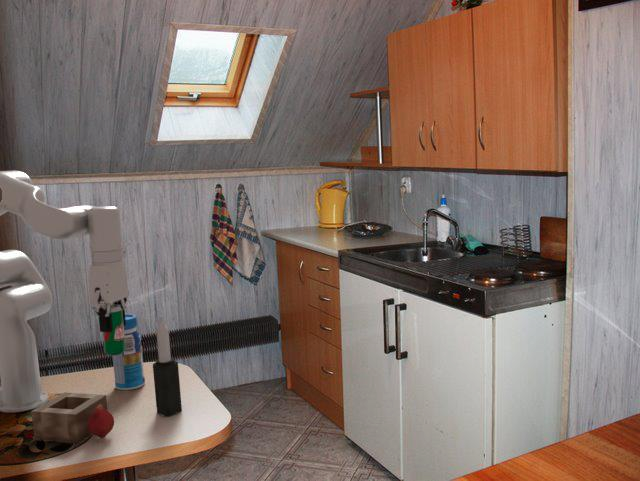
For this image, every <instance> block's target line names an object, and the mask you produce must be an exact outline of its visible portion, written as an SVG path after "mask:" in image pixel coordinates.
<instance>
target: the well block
mask: <svg viewBox="0 0 640 481" xmlns="http://www.w3.org/2000/svg"><path fill="white" fill-rule="evenodd" d="M107 397H108V396H107V394H95V393H78V392H65V391H64V392H63V393H61V394H59V395H57V396H56V397H54V398H52V399H51V400H48V401H47V402H46V403H45V404H43V405H41V406H39V407H37V408H34V409H32V410H31V411H30V413H31V420H32V421H31V422H32V427H33V428H32V430H33V437H34V440H35V439H41V440H40V441H42V440H45V441H46V442H53V441H56V442H55V443H65V444H66V443H67V444H77V445H78V444H80V443H82V442H83V441H85V440H87V438H89V437H91V436H93V434H91V432H90V431H89V429H88V426H87V425H88V419H89V417H90V415H91V414H92V412H93V411H94V410H96V408H97V407H98V405H103V409H106V410H108V411H109V408H108V407H109V405H108V398H107ZM45 441H44V442H45Z"/></svg>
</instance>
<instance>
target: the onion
mask: <svg viewBox="0 0 640 481" xmlns="http://www.w3.org/2000/svg"><path fill="white" fill-rule="evenodd" d="M87 426H88V429H89V431H90V432H91V434H92V436H95V437H97V438H100V439H105V438H106V437H107V436H108V434H110V432H112V430H113V428H114V426H115V418H114V415H113V414H112V413H111V411H109V409H108V410H106V409H103V405H98V407H97V408H96V410H94V411H93V412H92V414H91V415H90V417H89V419H88V425H87Z"/></svg>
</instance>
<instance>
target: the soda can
mask: <svg viewBox="0 0 640 481" xmlns="http://www.w3.org/2000/svg"><path fill="white" fill-rule="evenodd" d="M105 307H106V306H102V308H103V309H104V310H105ZM109 316H111V318H112V332H102V336H103V338H102V339H103V347H104V348H103V351H104V354H106V355H108V356H112V355H119V354H122V353H124V351H125V350H126V348H125V336H124V323H123V311H122V308H121V307H120V305H118V304H113V303H112V304H110V315H109Z"/></svg>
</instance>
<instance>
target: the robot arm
mask: <svg viewBox="0 0 640 481" xmlns="http://www.w3.org/2000/svg"><path fill="white" fill-rule="evenodd" d="M0 188H1V190H2V200H1V202H0V217H1V216H2V215H4V214H6V213H8V212H9V213H12V214H14V215H16V216H19V217H20V218H22V219H23V220H22V221H24V223H25V224H26V226H28V228H30V229H31V230H32V231H34V232H36V233H38V234H41V235H43V236H46V237H49V238H52V239H54V240H69V239H72V238H73V239H74V238H79V237H83V236H88V235H89V236H88V237H89V246H90V249H89V250H90V260H91V261H90V262H91V264H90V267H89V278H88V280H89V281H88V282H89V284H88V285H89V286H88V287H89V300H90V301H89V302H90V304H91V305H90V308H91V309H92V310H93V311H94V312H95V313H96V316H97V317H98V325H99V332H100V333H103V332H112V318H111V316H109V315H110V305H112V304H118V305H120V307H121V308H122V311H123V323H124V326H125V325H126V320H125V315H126V309H127V306H126V304H127V300H128V297H129V295H130V292H129V290H128V280H127V272H126V267H125V263H124V248H123V239H122V238H123V237H122V236H123V235H122V226H121V225H122V224H121V213H120V210H119V208H118V207H116V206H111V205H110V206H109V205H106V206H94V205H90V204H87V205H86V204H83V205H75V206H68V207H61V208H60V207H55V206H52V205H50V204H47V203H46V202H45V200H46V199H45V198H46V197H45V193H44V191H43V190H42V189H41V188H40V187H38V186H36V185H34V183H33V181H32V179H31V178H30V176H29V175H28V174H27V173H25V172H23V171H20V170H15V169H14V170H0ZM8 286H11V287H8ZM5 287H8V288H5ZM2 288H5V289H3V290H0V384H1V385H0V412H2V413H7V414H8V413H9V414H10V413H11V414H13V413H21V412H25V411H30V410H31V411H32V410H34V409H36V408H38V407H40V406H41V405H43V404H45V403H47V402H48V401H50V400H49V399H50V398H49V394H48V393H47V392H43V391H42V383H41V382H42V381H41V374H40V365H39V356H38V349H37V348H38V347H37V341H36V339H37V338H36V336H35V333H34V331H33V329H32V328H31V326H30V325H29V323H28V321H29V320H31V319H34V318H37V317H39V316H42V315H44V314H46V313H48V312H49V311H50V310H51V308H52V306H53V302H54V300H53V298H54V297H53V294H52V291H51V289H50V287H49V286H48V284H47V283H46V281H45V280H44V278H43V276H42V275H41V274H40V272H39V270H38V269H37V267H36V265H35V264H34V263H33V261H32V259H30V257H29V256H28V255H26V254H25V253H24V252H22V251H20V250H18V249H6V250H1V251H0V289H2ZM103 306H106V307H105V310H104V309H103V308H102V307H103Z"/></svg>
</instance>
